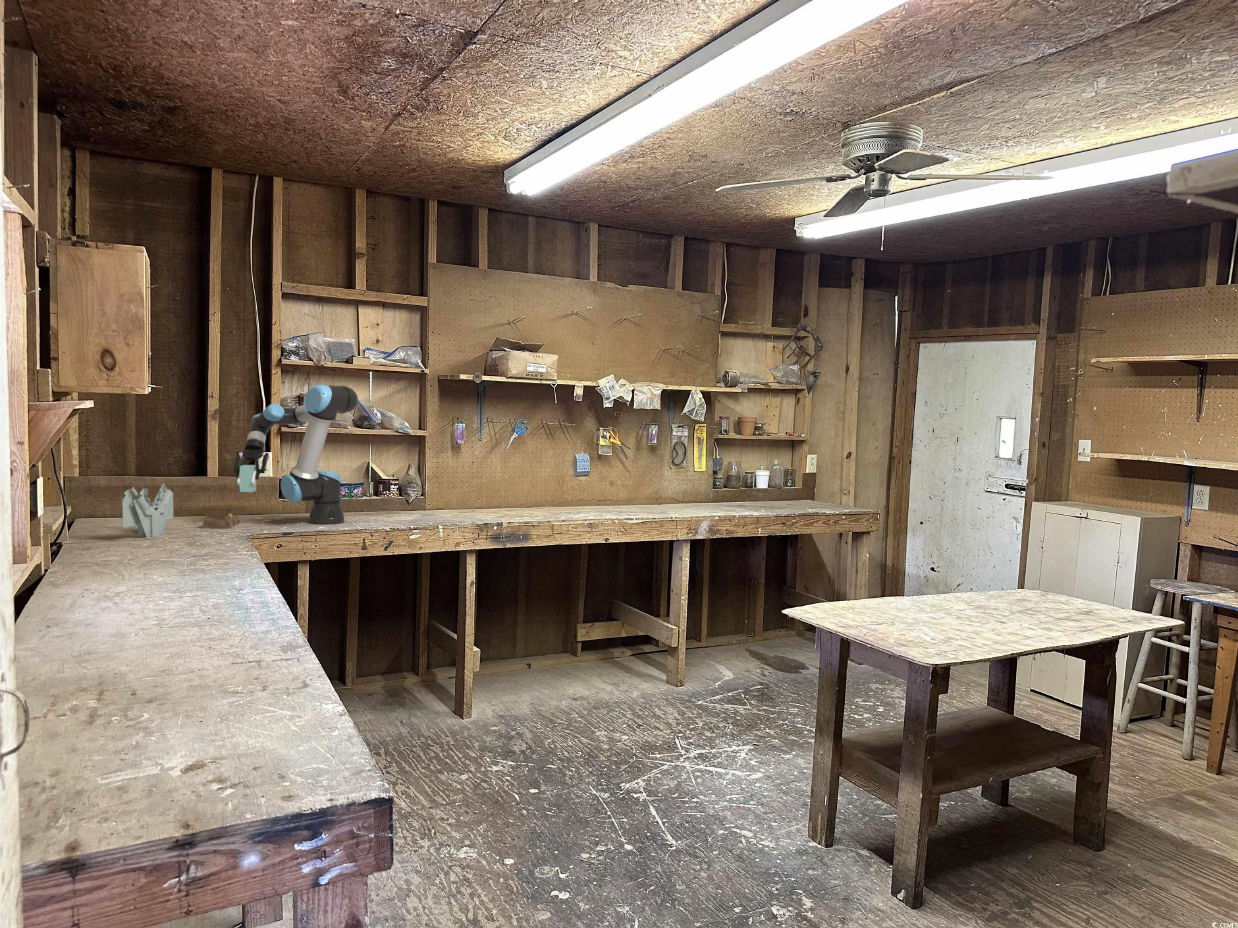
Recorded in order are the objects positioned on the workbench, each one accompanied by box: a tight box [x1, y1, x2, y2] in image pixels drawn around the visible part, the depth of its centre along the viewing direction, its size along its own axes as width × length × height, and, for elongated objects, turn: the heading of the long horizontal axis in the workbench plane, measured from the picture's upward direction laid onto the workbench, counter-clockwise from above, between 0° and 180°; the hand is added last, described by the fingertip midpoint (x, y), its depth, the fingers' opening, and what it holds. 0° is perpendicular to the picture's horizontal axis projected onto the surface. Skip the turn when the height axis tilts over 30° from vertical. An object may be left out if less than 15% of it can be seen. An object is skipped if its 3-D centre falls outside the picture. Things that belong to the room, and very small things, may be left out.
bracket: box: [121, 483, 174, 538], centre depth 320 cm, size 28×7×20 cm, turn 171°
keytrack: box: [201, 510, 240, 529], centre depth 351 cm, size 15×11×7 cm
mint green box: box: [239, 464, 257, 493], centre depth 353 cm, size 7×5×11 cm
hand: (245, 484), depth 350 cm, fingers closed on mint green box, 5 cm apart
